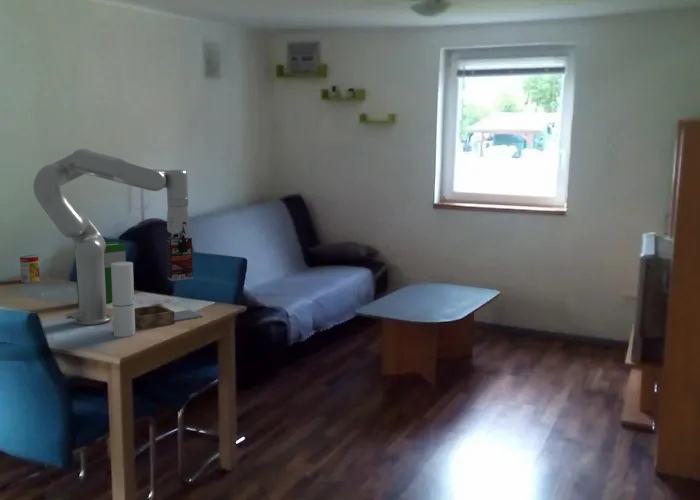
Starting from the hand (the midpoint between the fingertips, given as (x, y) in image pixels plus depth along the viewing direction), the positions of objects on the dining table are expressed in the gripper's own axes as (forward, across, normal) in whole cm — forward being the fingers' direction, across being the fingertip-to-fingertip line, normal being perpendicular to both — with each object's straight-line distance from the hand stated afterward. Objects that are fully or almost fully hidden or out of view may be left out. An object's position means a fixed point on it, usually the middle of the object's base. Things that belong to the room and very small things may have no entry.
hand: (179, 250), depth 259 cm
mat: (+26, 0, 0) cm, 26 cm away
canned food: (+25, -99, -30) cm, 107 cm away
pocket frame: (+26, +1, -13) cm, 29 cm away
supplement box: (+11, 0, 0) cm, 11 cm away
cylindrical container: (+26, +10, -26) cm, 38 cm away
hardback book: (+26, -40, -17) cm, 50 cm away
